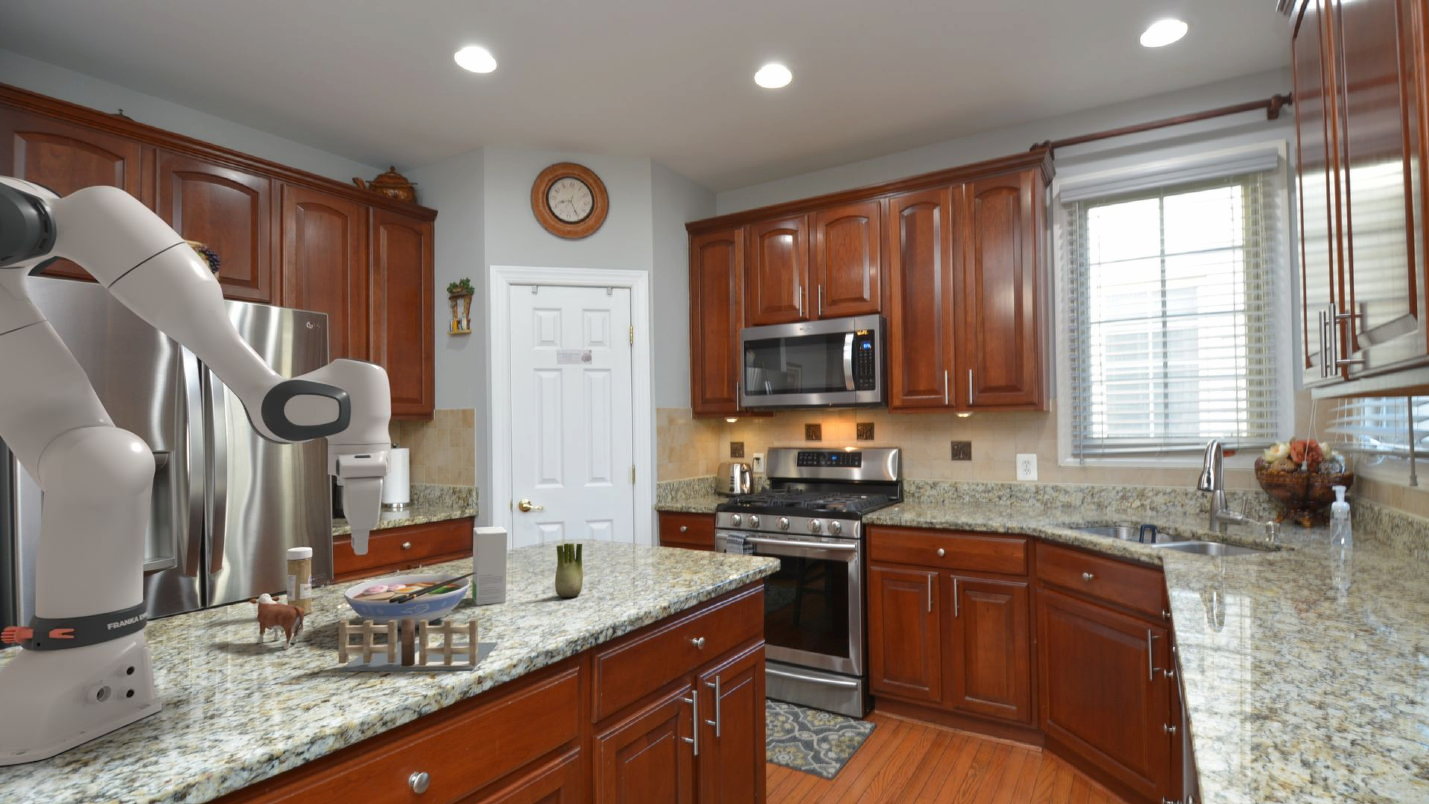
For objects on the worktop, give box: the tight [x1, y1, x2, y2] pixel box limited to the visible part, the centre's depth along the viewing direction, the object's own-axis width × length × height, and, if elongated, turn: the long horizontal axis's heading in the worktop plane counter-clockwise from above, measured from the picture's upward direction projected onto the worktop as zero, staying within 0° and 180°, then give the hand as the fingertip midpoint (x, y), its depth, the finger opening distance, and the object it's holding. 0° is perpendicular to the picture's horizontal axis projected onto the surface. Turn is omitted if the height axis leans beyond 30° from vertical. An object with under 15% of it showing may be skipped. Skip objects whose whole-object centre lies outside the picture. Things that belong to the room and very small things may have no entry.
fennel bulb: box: [554, 543, 584, 599], centre depth 158 cm, size 6×5×12 cm
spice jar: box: [285, 546, 313, 616], centre depth 146 cm, size 5×5×13 cm
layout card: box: [338, 641, 498, 673], centre depth 118 cm, size 13×21×1 cm, turn 90°
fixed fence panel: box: [418, 618, 479, 665], centre depth 114 cm, size 9×1×7 cm, turn 90°
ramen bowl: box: [342, 571, 475, 630], centre depth 138 cm, size 25×23×8 cm
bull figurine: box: [249, 593, 305, 650], centre depth 126 cm, size 4×13×8 cm, turn 59°
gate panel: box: [338, 619, 398, 664], centre depth 114 cm, size 9×1×6 cm, turn 90°
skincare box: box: [471, 525, 508, 606], centre depth 156 cm, size 8×7×16 cm
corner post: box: [400, 618, 416, 666], centre depth 114 cm, size 2×2×8 cm
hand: (359, 551), depth 111 cm, fingers open, 4 cm apart
